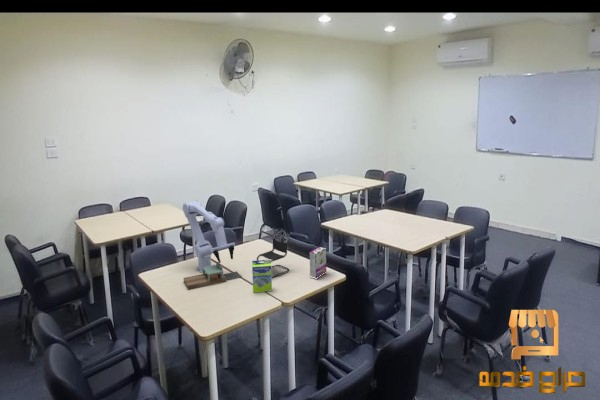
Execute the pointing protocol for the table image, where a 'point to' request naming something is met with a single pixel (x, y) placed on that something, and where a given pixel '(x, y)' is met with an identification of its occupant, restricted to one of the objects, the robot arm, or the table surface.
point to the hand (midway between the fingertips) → (225, 260)
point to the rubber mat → (232, 275)
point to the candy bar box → (317, 262)
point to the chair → (280, 247)
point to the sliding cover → (213, 270)
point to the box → (262, 276)
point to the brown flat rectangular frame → (202, 281)
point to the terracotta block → (213, 276)
